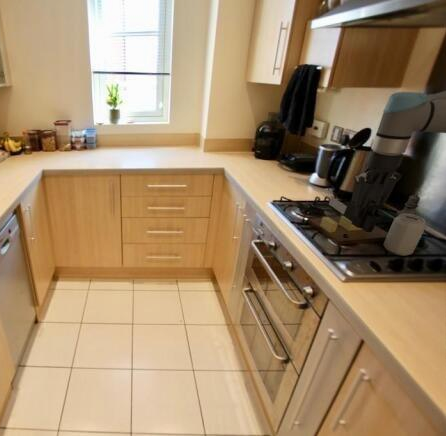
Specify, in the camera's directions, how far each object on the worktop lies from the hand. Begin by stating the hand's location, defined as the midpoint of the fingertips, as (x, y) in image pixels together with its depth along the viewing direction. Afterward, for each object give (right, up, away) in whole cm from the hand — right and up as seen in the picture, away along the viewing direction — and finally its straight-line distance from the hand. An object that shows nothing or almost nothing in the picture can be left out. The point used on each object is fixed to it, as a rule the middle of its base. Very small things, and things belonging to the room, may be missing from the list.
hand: (359, 225), depth 99 cm
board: (+6, -2, +14) cm, 15 cm away
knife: (-1, +3, +5) cm, 6 cm away
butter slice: (-2, -2, +12) cm, 12 cm away
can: (+14, -8, +2) cm, 16 cm away
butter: (+8, -1, +13) cm, 15 cm away
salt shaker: (+30, 0, +18) cm, 34 cm away
